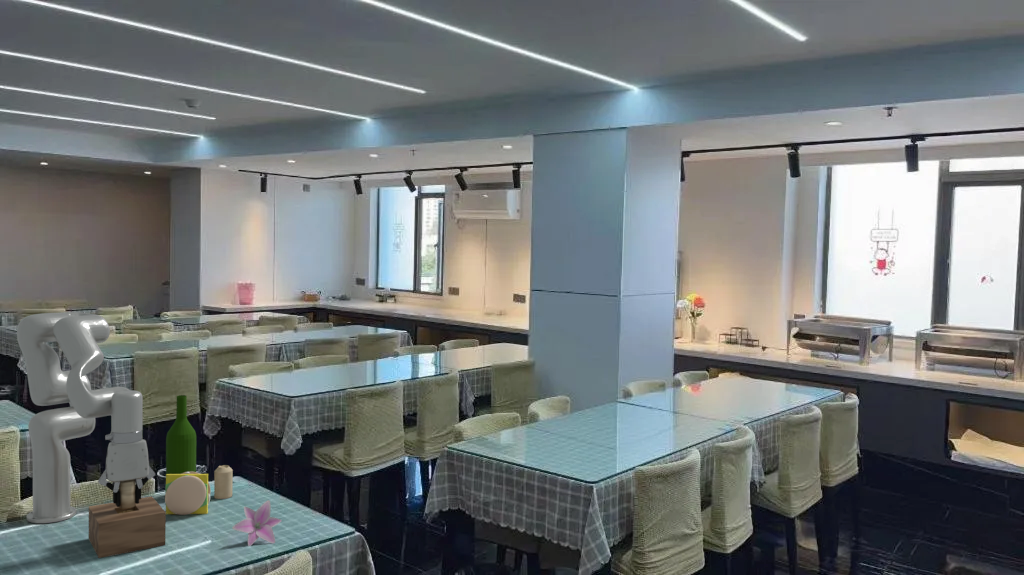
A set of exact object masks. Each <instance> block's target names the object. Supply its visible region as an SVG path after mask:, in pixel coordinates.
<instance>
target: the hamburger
mask: <svg viewBox="0 0 1024 575" xmlns="http://www.w3.org/2000/svg"><path fill="white" fill-rule="evenodd" d="M164 486H165V487H164V488H165V489H164V490H165V492H164V493H165V495H164V503H165V504H164V505H165V512H166V515H180V516H185V515H208V513H209V505H210V500H211V491H212V490H211V484H210V483H209V473H199V472H197V471H196V472H184V473H182V474H166V473H165V485H164Z"/></svg>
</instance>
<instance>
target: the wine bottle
mask: <svg viewBox="0 0 1024 575" xmlns="http://www.w3.org/2000/svg"><path fill="white" fill-rule="evenodd" d="M187 400H188V396H187V395H185V394H181V395H176V407H175V408H176V409H175V410H176V414H175V415H176V418H175V421H174V422H173V423H172V426H171V427H170V428H169V430H168V431H167V433H166V438H165V475H166V474H182V473H184V472H197V433H196V430H195V429H194V427H193V426H192V424H191V423H190V421H189V420H188V412H187V411H188V410H187V408H188V406H187V404H188V403H187Z"/></svg>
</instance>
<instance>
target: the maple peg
mask: <svg viewBox="0 0 1024 575" xmlns="http://www.w3.org/2000/svg"><path fill="white" fill-rule="evenodd" d="M135 485H136V483H135V479H134V480H127V481H120V484H119V492H120V507H119V508H121V509H127V508H132V507H134V506H135Z"/></svg>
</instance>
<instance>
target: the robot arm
mask: <svg viewBox="0 0 1024 575" xmlns="http://www.w3.org/2000/svg"><path fill="white" fill-rule="evenodd" d="M110 334H111V331H110V324H109V323H108V321H107V320H106V318H104V317H103V316H102V315H99V314H95V313H94V314H93V313H89V312H83V311H67V312H65V311H64V312H45V313H44V312H42V313H35V314H31V315H27V316H25V317H23V318H22V319H21V320H20V322H18V325H17V329H16V339H17V343H18V346H19V348H20V351H21V354H22V355H23V359H24V361H25V366H26V367H25V368H26V373H27V374H26V375H27V382H28V383H27V384H28V388H29V389H28V390H29V395H30V398H31V399H30V400H31V401H32V403H33V404H34V405H36V406H41V407H44V406H53V405H54V406H55V405H60V404H67V403H69V406H68V407H59V408H54V409H53V408H52V409H46V410H43V411H40V412H38V413H36V414H34V415H33V416H32V417H31V418H30V420H29V422H28V425H27V426H28V433H29V438H30V443H31V452H32V511H30V512H29V513H28V514H26V521H27V522H29V523H32V524H49V523H50V524H51V523H56V522H61V521H65V520H68V519H70V518H73V517H74V516H75V515H77V508H76V507H74V506H72V505H71V454H70V452H69V450H68V449H67V448H66V447H65V445H64V444H63V441H68V440H72V439H76V438H77V439H78V438H82V437H86V436H89V435H90V434H91V433H93V431H94V430H95V428H96V418H103V417H107V416H111V419H110V420H111V426H110V427H111V431H110V433H108V434H106V435H105V437H104V438H105V441H110V442H109V443H108V446H107V451H106V458H105V469H104V471H103V473H101V476H100V477H99V478H98V479H97V482H98V484H100V485H102V486H105V487H107V488H108V489H109V490H110V491H112V503H115V504H116V506H117V507H120V492H119V484H120V481H127V480H134V479H135V503H137V504H139V499H141V498H142V489H143V487H144V486H145V485H146V484H147V482H148V481H149V480H151V479H152V478H154V476H156V472H155V471H154V470H153V469H152V468H151V466H150V461H149V451H148V444H147V440H146V439H145V438H144V437H143V432H144V429H143V426H144V425H143V422H144V421H143V416H144V415H143V412H144V410H143V409H144V408H143V407H144V406H143V405H144V404H143V400H144V398H143V394H142V392H140V390H139V391H138V390H131V389H129V388H128V387H126V386H113V387H104V388H98V389H97V388H95V389H92V385H91V382H90V379H89V377H88V376H87V375H88V374H90V373H91V372H93V371H94V370H96V369H97V368H99V367H100V365H101V364H102V363H103V362H104V355H105V354H104V353H103V351H102V350H101V348H100V346H99V345H98V344H102V343H105V342H106V341H107V340H108V339H109V337H110ZM51 342H57V344H58V346H59V348H60V349H61V350H62V351H61V352H63V355H64V356H65V358H66V360H67V362H68V363H69V365H70V367H71V369H70V370H62V368H61V363H60V358H59V357H60V356H59V355H58V353H57V351H55V349H54V348H53V347H52V346H50V344H48V343H51ZM143 438H144V439H143Z"/></svg>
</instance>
